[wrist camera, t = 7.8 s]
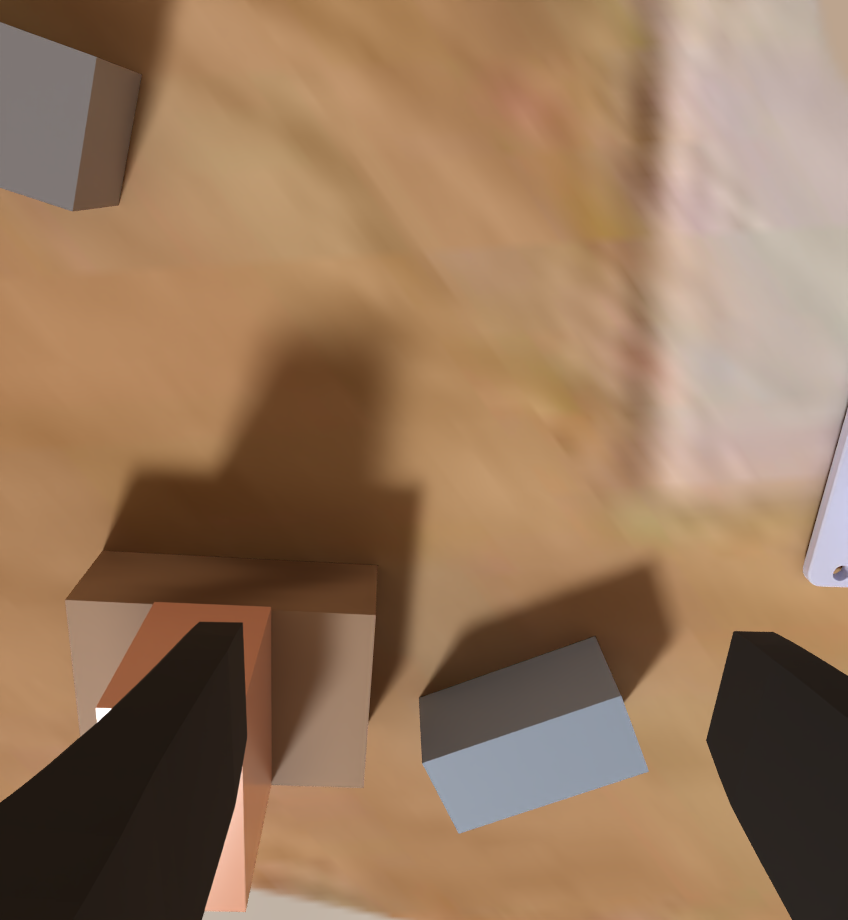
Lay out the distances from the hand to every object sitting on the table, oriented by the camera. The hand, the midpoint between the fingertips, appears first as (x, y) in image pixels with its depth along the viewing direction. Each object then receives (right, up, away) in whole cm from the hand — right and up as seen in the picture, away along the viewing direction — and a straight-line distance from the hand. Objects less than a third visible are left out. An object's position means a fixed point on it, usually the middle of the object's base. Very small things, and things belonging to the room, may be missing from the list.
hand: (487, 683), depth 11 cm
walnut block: (-7, -2, +12) cm, 14 cm away
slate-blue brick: (+2, -5, +13) cm, 14 cm away
